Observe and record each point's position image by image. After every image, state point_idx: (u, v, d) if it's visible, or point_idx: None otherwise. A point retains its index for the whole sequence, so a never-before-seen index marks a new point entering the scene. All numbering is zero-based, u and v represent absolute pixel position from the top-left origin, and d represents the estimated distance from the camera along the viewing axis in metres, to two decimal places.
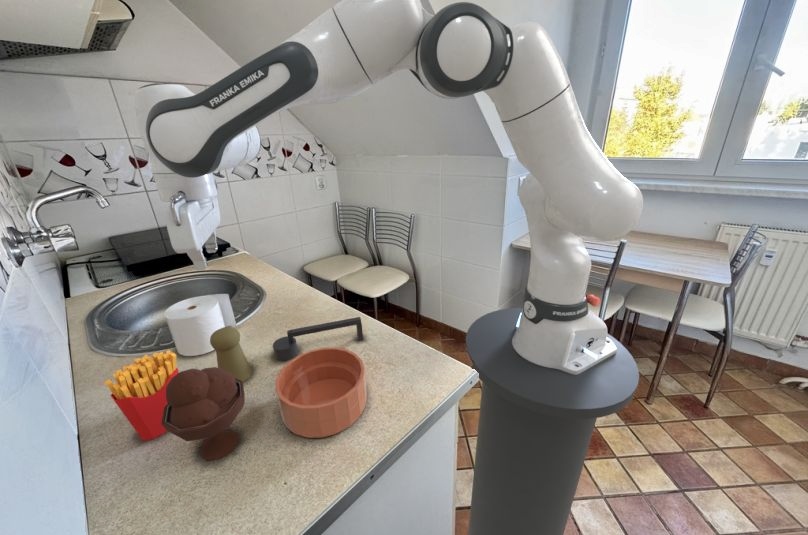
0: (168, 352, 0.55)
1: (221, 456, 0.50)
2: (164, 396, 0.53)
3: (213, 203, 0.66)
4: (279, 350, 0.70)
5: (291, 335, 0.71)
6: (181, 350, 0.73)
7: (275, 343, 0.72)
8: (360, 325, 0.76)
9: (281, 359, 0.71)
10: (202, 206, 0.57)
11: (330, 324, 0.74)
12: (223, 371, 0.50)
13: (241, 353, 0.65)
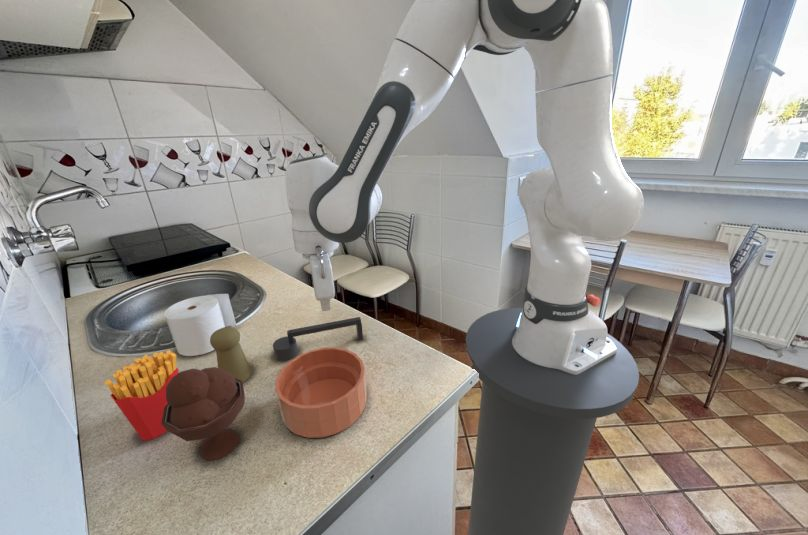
0: (168, 352, 0.55)
1: (221, 456, 0.50)
2: (164, 396, 0.53)
3: None
4: (279, 350, 0.70)
5: (291, 335, 0.71)
6: (181, 350, 0.73)
7: (275, 343, 0.72)
8: (360, 325, 0.76)
9: (281, 359, 0.71)
10: (329, 256, 0.66)
11: (330, 324, 0.74)
12: (223, 371, 0.50)
13: (241, 353, 0.65)
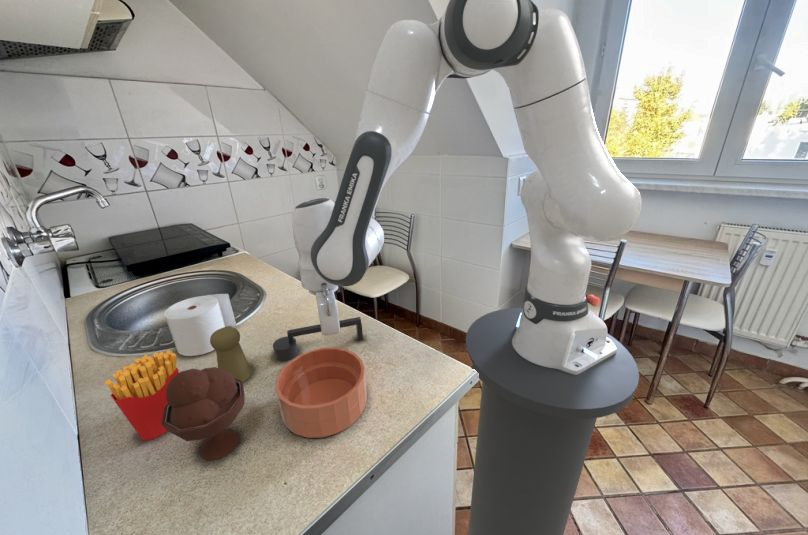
0: (168, 352, 0.55)
1: (221, 456, 0.50)
2: (164, 396, 0.53)
3: None
4: (279, 350, 0.70)
5: (291, 335, 0.71)
6: (181, 350, 0.73)
7: (275, 343, 0.72)
8: (360, 325, 0.76)
9: (281, 359, 0.71)
10: (334, 291, 0.69)
11: None
12: (223, 371, 0.50)
13: (241, 353, 0.65)
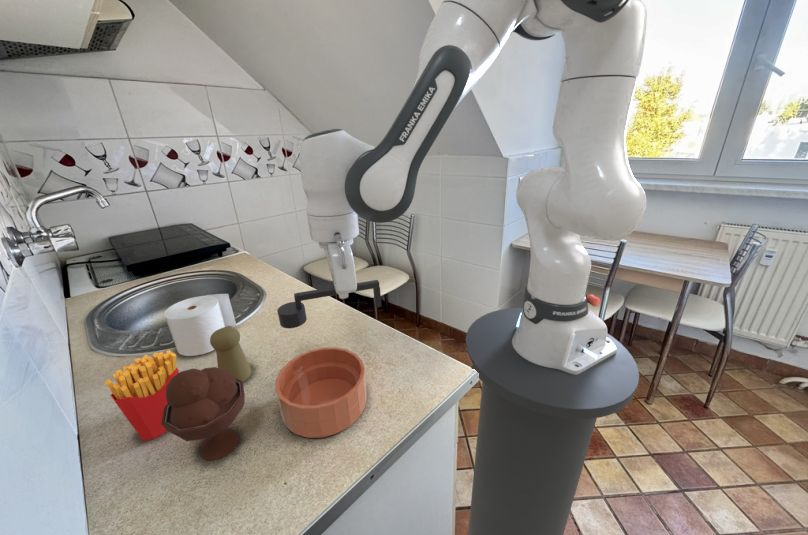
0: (168, 352, 0.55)
1: (221, 456, 0.50)
2: (164, 396, 0.53)
3: None
4: (285, 315, 0.60)
5: (299, 298, 0.61)
6: (181, 350, 0.73)
7: (280, 308, 0.62)
8: (378, 289, 0.65)
9: (287, 326, 0.61)
10: (349, 244, 0.58)
11: None
12: (223, 371, 0.50)
13: (241, 353, 0.65)
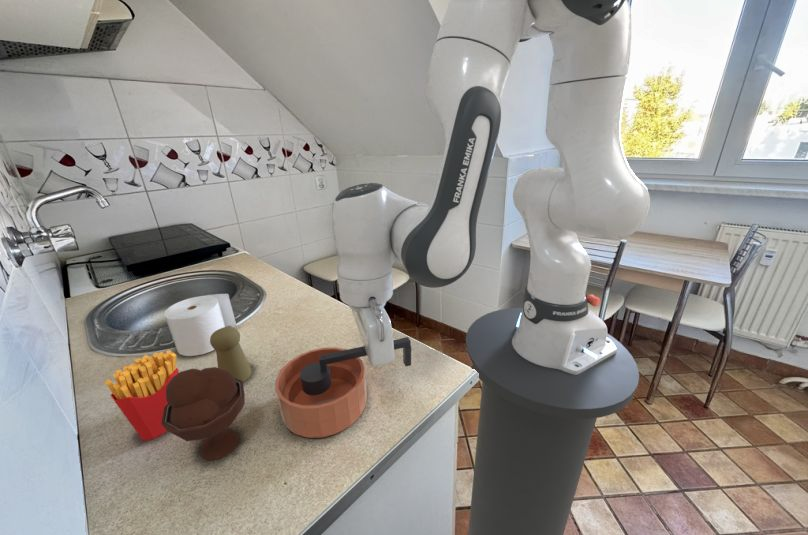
0: (168, 352, 0.55)
1: (221, 456, 0.50)
2: (164, 396, 0.53)
3: None
4: (309, 382, 0.54)
5: (324, 362, 0.55)
6: (181, 350, 0.73)
7: (303, 372, 0.56)
8: (409, 348, 0.60)
9: (311, 393, 0.55)
10: (382, 306, 0.53)
11: None
12: (223, 371, 0.50)
13: (241, 353, 0.65)
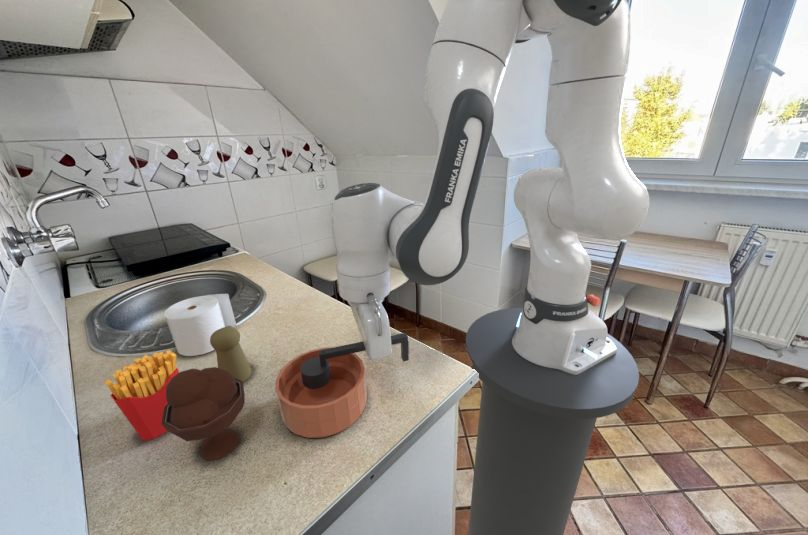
0: (168, 352, 0.55)
1: (221, 456, 0.50)
2: (164, 396, 0.53)
3: None
4: (309, 376, 0.55)
5: (324, 357, 0.57)
6: (181, 350, 0.73)
7: (303, 367, 0.57)
8: (406, 343, 0.61)
9: (311, 387, 0.56)
10: (380, 302, 0.54)
11: None
12: (223, 371, 0.50)
13: (241, 353, 0.65)
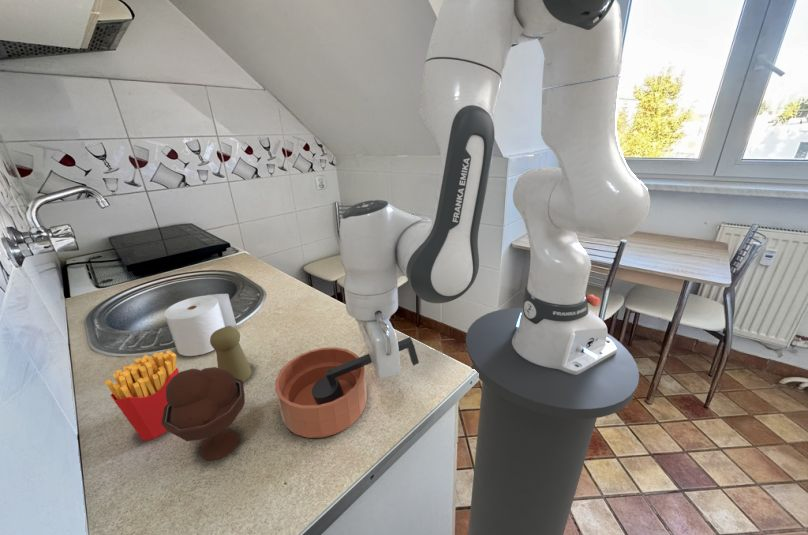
0: (168, 352, 0.55)
1: (221, 456, 0.50)
2: (164, 396, 0.53)
3: None
4: (321, 398, 0.56)
5: (331, 377, 0.57)
6: (181, 350, 0.73)
7: (314, 389, 0.58)
8: (412, 347, 0.60)
9: None
10: (388, 318, 0.54)
11: None
12: (223, 371, 0.50)
13: (241, 353, 0.65)
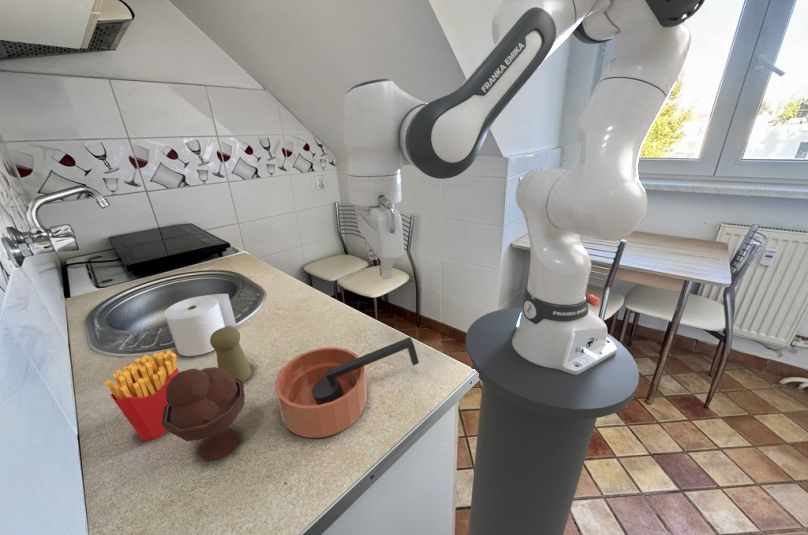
0: (168, 352, 0.55)
1: (221, 456, 0.50)
2: (164, 396, 0.53)
3: None
4: (321, 398, 0.56)
5: (331, 377, 0.57)
6: (181, 350, 0.73)
7: (314, 389, 0.58)
8: (412, 347, 0.60)
9: None
10: None
11: (376, 354, 0.58)
12: (223, 371, 0.50)
13: (241, 353, 0.65)
